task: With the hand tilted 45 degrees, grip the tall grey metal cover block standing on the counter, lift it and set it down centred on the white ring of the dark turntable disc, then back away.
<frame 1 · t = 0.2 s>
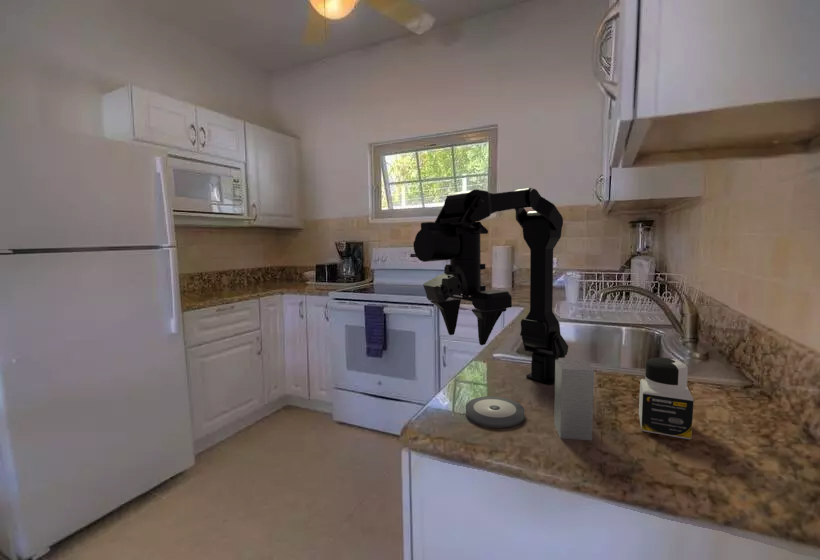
hand: (466, 339, 74), 14 cm above the worktop, tool pointing down, fingers open, 9 cm apart
cover block: (572, 431, 66), on the worktop
medicine bottle: (663, 427, 68), on the worktop
turntable: (494, 413, 74), on the worktop
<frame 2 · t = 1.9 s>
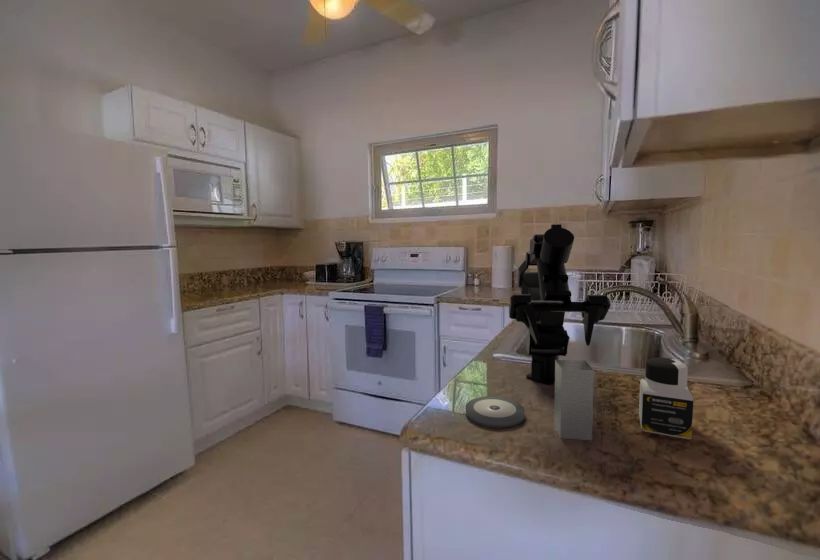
hand: (562, 344, 73), 13 cm above the worktop, tool tilted 45°, fingers open, 9 cm apart
nothing on the worktop moved.
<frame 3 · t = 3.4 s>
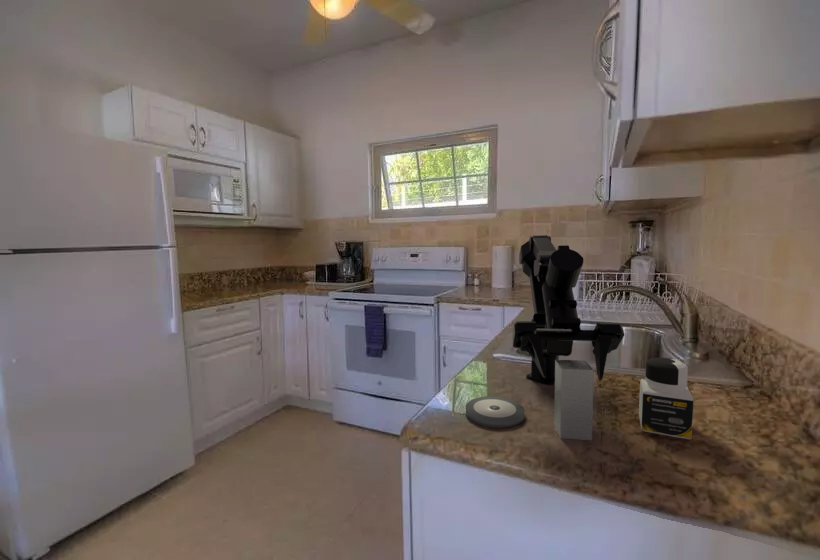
hand: (572, 378, 66), 9 cm above the worktop, tool tilted 45°, fingers open, 9 cm apart
nothing on the worktop moved.
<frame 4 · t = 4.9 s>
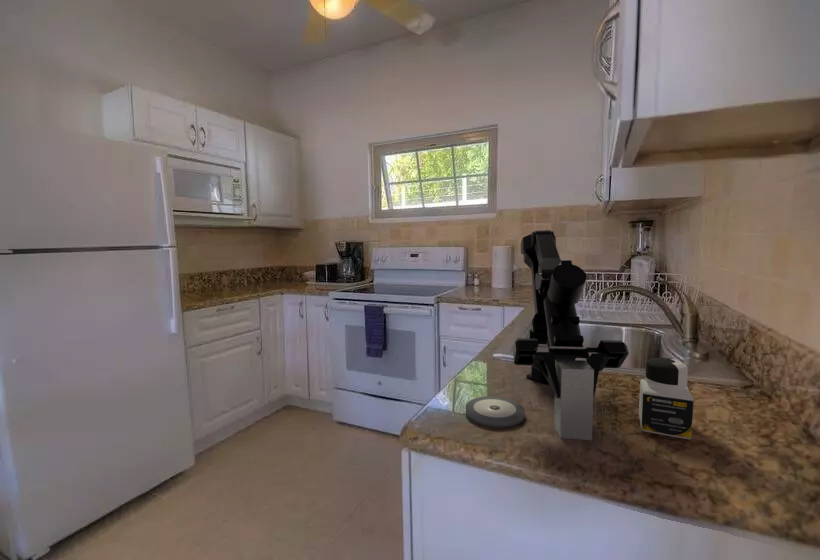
hand: (575, 398, 64), 7 cm above the worktop, tool tilted 45°, fingers closed on cover block, 5 cm apart
cover block: (572, 431, 66), on the worktop, touching gripper
everything else where it was.
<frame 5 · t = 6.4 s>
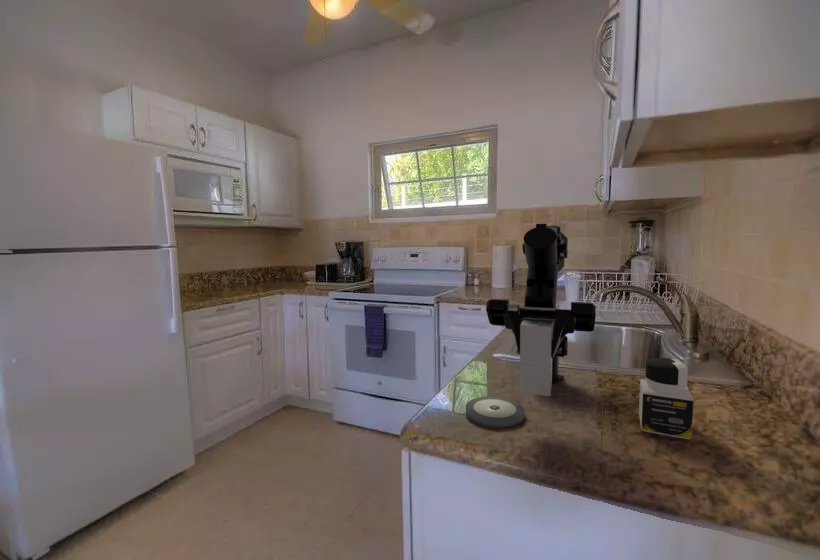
hand: (535, 355, 66), 13 cm above the worktop, tool tilted 45°, fingers closed on cover block, 5 cm apart
cover block: (536, 389, 68), point 7 cm above the worktop, touching gripper
everything else where it was.
when the fingers open (9 cm above the worktop, at t = 8.0 s): cover block drops 1 cm, resting on turntable.
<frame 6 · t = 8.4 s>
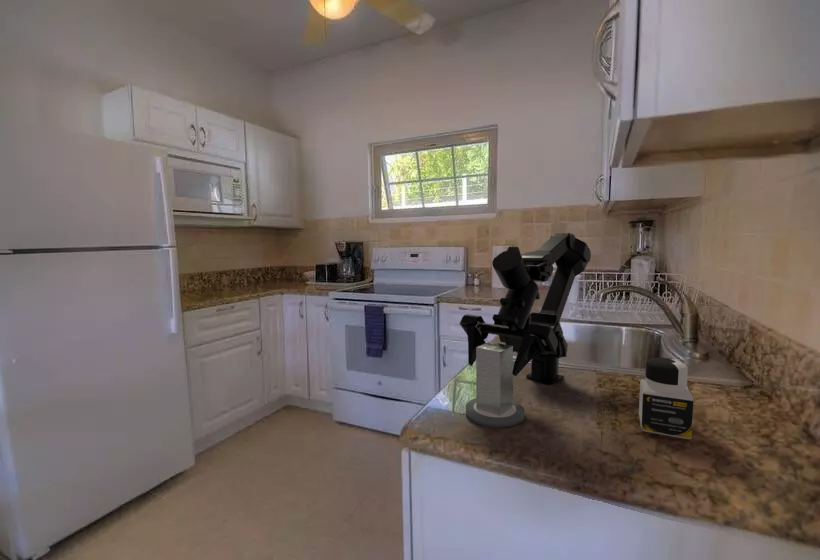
hand: (491, 369, 72), 9 cm above the worktop, tool tilted 45°, fingers open, 9 cm apart
cover block: (494, 407, 74), point 1 cm above the worktop, touching turntable
everything else where it was.
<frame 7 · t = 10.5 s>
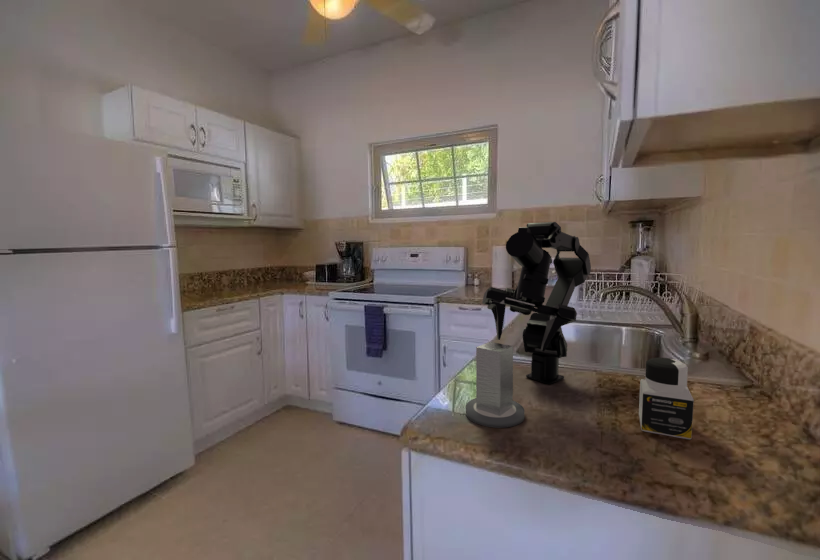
hand: (520, 345, 80), 11 cm above the worktop, tool tilted 25°, fingers open, 9 cm apart
nothing on the worktop moved.
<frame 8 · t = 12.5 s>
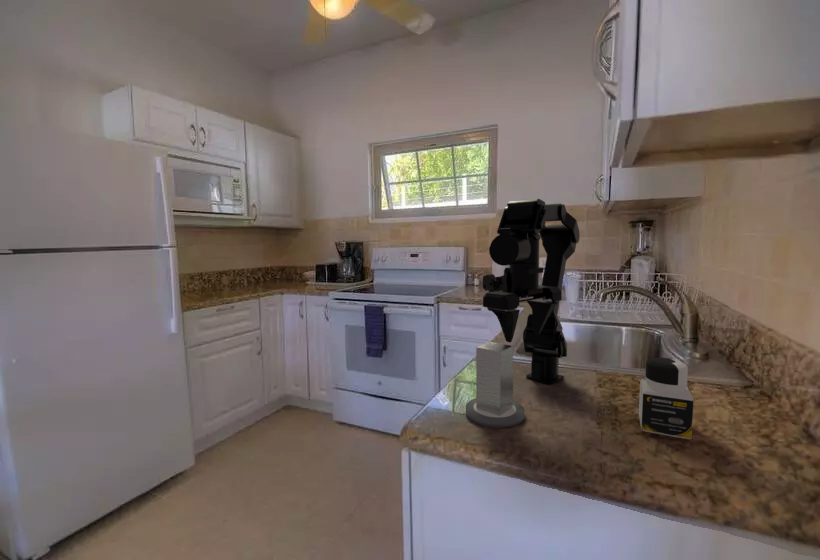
hand: (523, 338, 79), 13 cm above the worktop, tool pointing down, fingers open, 9 cm apart
nothing on the worktop moved.
at the end: cover block 0.0 cm off-centre on the turntable, point 1.3 cm above the turntable's base; cover block tilted 0°; the gripper is holding nothing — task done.
